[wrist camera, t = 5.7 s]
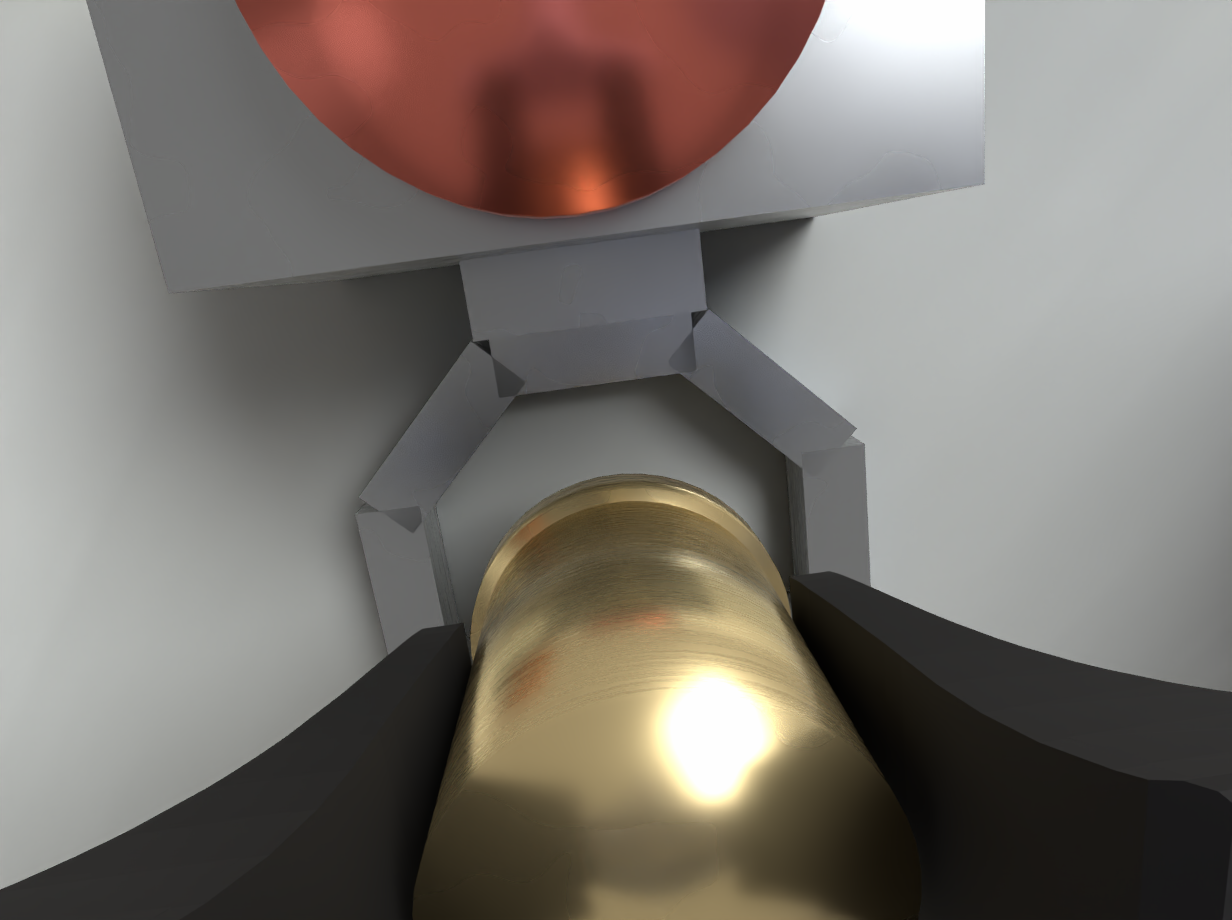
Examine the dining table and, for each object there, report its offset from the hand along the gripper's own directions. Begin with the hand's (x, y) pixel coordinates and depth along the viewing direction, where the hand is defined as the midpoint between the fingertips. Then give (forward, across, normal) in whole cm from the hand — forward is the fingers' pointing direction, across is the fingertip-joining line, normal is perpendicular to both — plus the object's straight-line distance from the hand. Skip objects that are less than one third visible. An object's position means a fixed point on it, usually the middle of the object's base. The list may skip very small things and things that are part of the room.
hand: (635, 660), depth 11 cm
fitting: (+2, 0, 0) cm, 2 cm away
